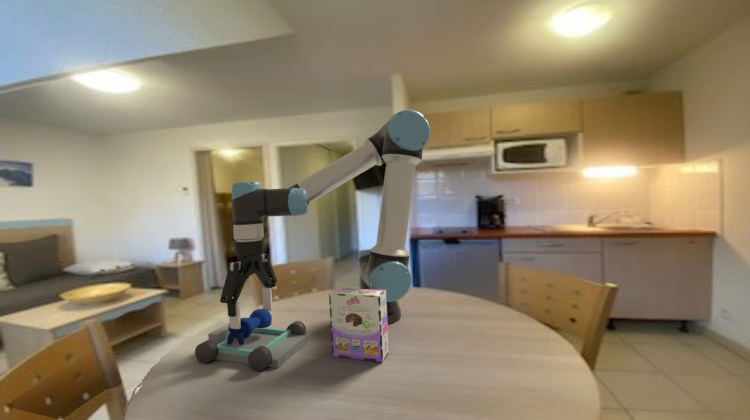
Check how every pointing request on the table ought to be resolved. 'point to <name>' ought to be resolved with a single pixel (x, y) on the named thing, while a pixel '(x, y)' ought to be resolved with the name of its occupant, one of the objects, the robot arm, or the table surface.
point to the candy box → (359, 323)
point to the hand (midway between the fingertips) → (252, 318)
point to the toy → (250, 325)
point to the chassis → (254, 346)
